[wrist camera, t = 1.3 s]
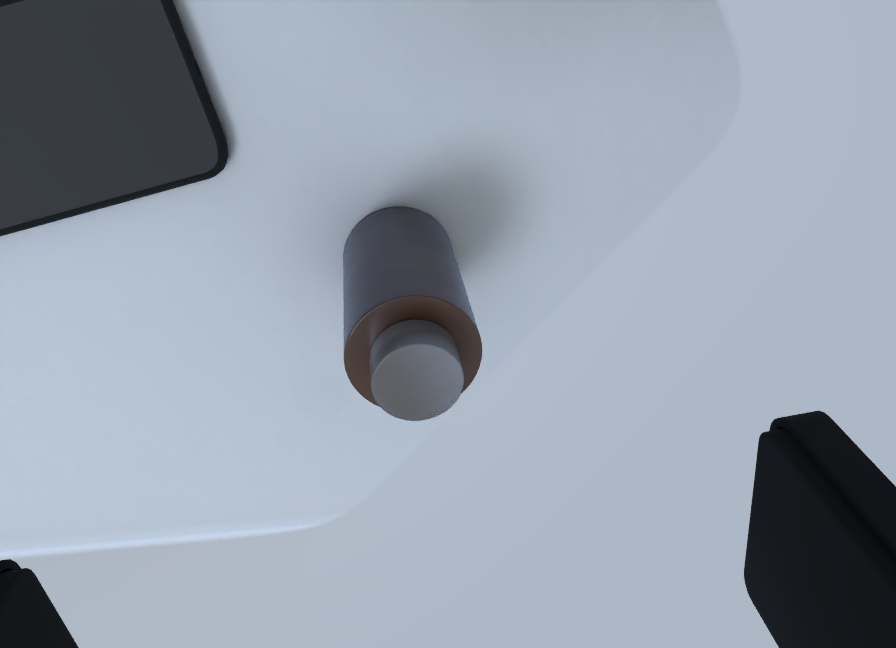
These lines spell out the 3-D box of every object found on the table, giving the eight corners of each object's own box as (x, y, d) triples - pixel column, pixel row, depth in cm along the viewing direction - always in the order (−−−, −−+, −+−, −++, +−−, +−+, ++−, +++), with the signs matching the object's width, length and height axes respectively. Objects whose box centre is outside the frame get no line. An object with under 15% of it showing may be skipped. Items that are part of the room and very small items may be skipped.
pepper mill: (416, 185, 29) (444, 293, 21) (471, 271, 31) (515, 398, 23) (321, 243, 29) (314, 368, 22) (381, 323, 31) (394, 463, 24)
